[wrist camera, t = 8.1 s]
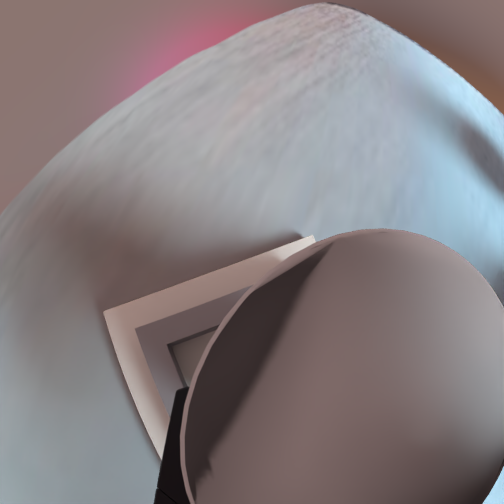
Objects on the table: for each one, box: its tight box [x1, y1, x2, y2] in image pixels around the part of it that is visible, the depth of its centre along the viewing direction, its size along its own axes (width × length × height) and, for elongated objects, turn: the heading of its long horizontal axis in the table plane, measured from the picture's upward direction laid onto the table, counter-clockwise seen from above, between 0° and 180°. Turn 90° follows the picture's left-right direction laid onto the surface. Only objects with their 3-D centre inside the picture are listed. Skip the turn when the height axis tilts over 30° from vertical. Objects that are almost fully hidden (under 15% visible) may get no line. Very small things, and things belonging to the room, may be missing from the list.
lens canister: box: [180, 229, 504, 504], centre depth 9 cm, size 6×6×13 cm
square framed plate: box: [103, 235, 316, 460], centre depth 16 cm, size 14×14×3 cm
